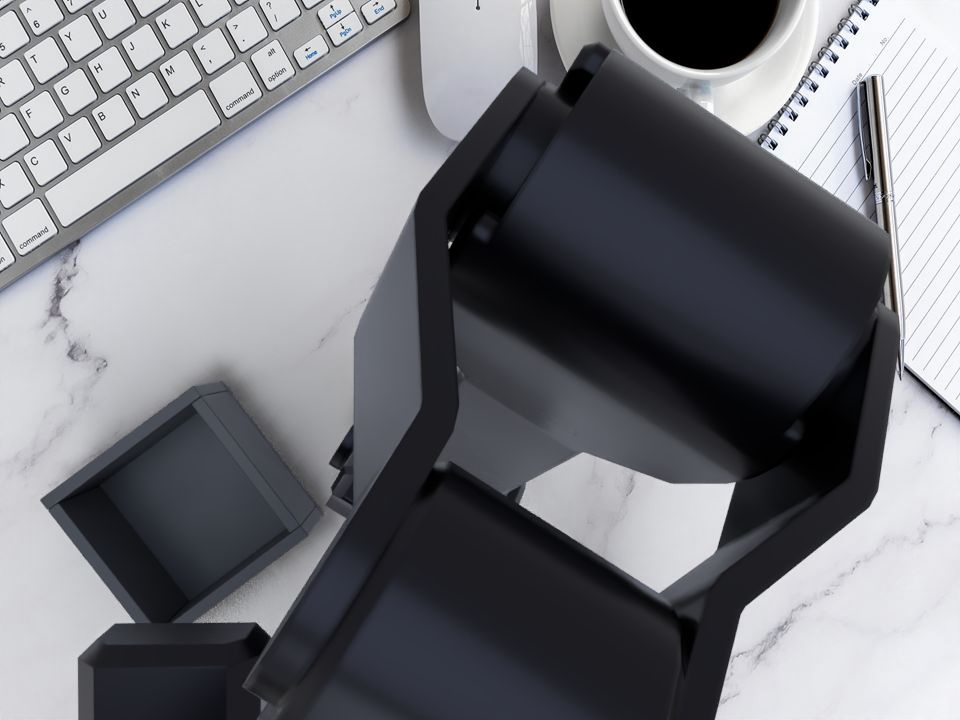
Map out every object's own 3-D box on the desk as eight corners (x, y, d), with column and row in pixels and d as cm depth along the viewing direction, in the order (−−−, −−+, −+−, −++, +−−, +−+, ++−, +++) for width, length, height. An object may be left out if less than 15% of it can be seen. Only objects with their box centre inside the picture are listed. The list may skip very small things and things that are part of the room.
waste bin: (222, 380, 51) (193, 385, 45) (324, 513, 51) (308, 536, 45) (86, 481, 51) (38, 500, 45) (189, 614, 51) (156, 650, 45)
